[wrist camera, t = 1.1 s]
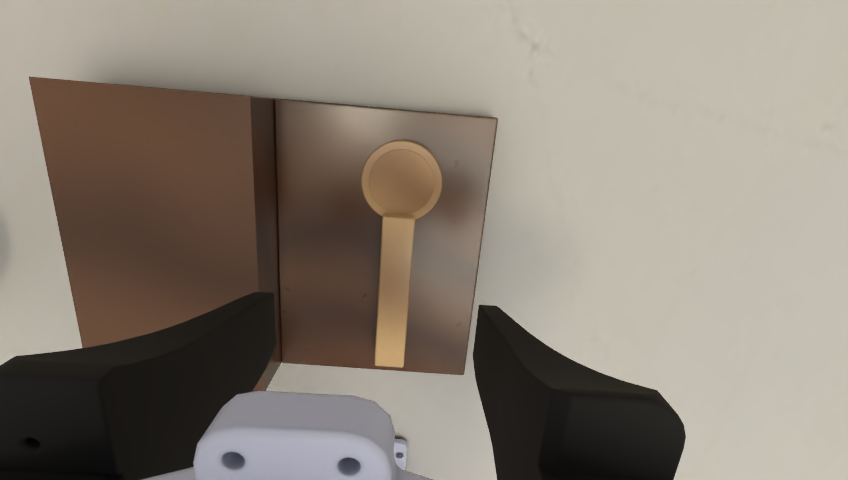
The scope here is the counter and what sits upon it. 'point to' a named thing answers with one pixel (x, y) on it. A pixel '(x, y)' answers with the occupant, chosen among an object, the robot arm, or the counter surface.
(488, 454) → the counter surface
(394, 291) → the spoon
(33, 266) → the counter surface
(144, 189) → the step shelf
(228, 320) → the robot arm
